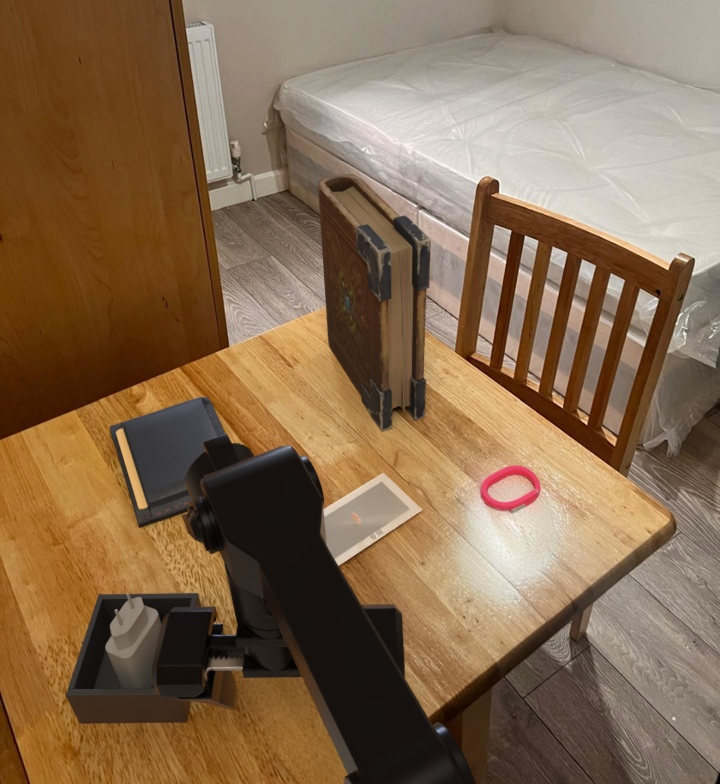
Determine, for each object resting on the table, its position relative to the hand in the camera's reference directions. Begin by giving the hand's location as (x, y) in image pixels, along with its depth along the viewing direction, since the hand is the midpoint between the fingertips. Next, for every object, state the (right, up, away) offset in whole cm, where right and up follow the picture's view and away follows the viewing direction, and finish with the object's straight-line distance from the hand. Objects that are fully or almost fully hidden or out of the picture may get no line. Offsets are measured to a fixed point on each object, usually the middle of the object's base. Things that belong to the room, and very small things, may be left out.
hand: (290, 703), depth 61 cm
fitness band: (+25, +9, +34) cm, 43 cm away
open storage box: (-17, -5, +16) cm, 24 cm away
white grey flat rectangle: (+5, +5, +30) cm, 31 cm away
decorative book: (+7, +22, +54) cm, 58 cm away
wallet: (-20, +12, +41) cm, 47 cm away
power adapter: (-17, -5, +16) cm, 23 cm away
